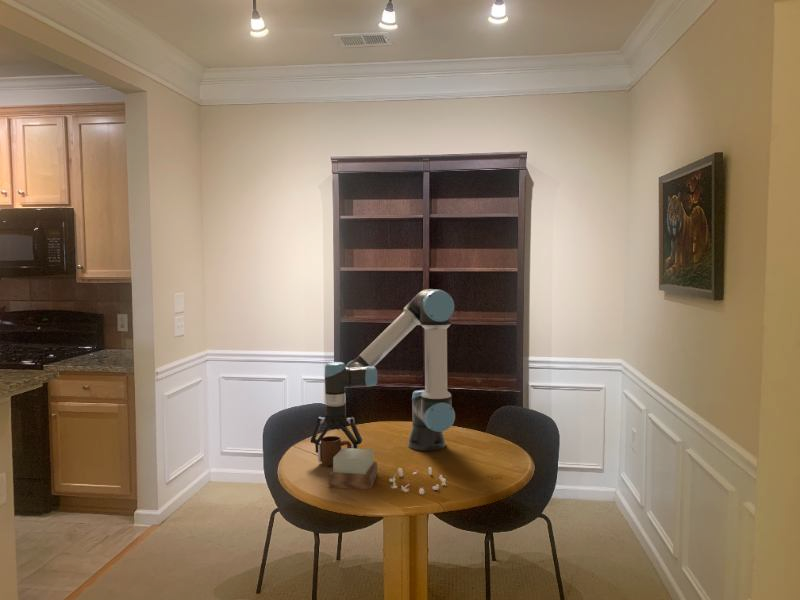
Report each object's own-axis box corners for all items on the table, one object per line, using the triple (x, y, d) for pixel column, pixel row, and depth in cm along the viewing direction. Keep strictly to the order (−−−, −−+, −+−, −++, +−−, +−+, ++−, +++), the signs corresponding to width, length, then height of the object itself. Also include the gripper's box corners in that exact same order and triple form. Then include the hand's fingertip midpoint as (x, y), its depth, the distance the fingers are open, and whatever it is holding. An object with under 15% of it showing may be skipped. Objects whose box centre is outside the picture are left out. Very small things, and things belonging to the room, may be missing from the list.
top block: (373, 463, 204) (372, 449, 203) (365, 474, 193) (364, 459, 193) (343, 461, 206) (342, 447, 206) (333, 472, 195) (333, 457, 195)
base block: (377, 475, 206) (377, 461, 206) (370, 490, 192) (370, 475, 192) (338, 474, 207) (338, 460, 207) (329, 488, 194) (329, 474, 193)
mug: (355, 462, 218) (355, 437, 218) (348, 468, 211) (347, 443, 211) (326, 459, 222) (325, 435, 221) (317, 466, 215) (317, 440, 214)
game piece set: (380, 479, 202) (379, 468, 202) (431, 470, 210) (431, 460, 210) (403, 499, 184) (402, 487, 184) (457, 489, 192) (457, 477, 192)
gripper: (301, 406, 213) (302, 464, 214) (365, 407, 210) (366, 465, 211) (306, 401, 221) (308, 457, 222) (369, 402, 218) (370, 459, 219)
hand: (336, 461), depth 217 cm, fingers closed on mug, 12 cm apart
